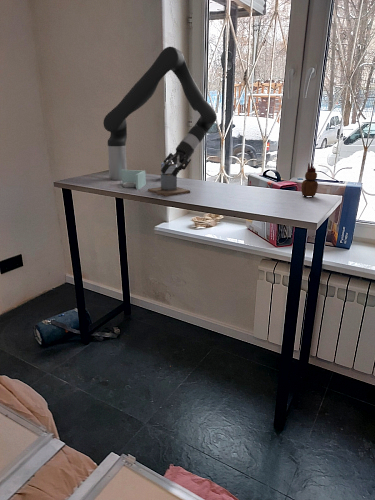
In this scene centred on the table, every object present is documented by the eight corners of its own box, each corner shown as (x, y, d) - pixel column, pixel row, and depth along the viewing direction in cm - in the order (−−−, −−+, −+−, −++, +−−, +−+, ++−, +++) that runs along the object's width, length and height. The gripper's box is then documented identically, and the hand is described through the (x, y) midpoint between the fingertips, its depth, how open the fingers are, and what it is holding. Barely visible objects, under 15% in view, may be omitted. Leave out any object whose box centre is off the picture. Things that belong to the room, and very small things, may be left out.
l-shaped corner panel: (123, 184, 188) (122, 169, 185) (145, 185, 186) (145, 170, 183) (114, 189, 177) (113, 173, 174) (138, 190, 175) (137, 174, 172)
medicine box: (176, 178, 203) (176, 162, 199) (175, 180, 198) (175, 163, 195) (162, 178, 203) (162, 162, 200) (161, 179, 199) (160, 163, 196)
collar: (161, 189, 171) (160, 174, 168) (170, 188, 174) (170, 173, 171) (167, 191, 167) (167, 175, 165) (176, 190, 170) (176, 174, 168)
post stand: (147, 191, 172) (147, 173, 169) (172, 187, 180) (172, 170, 177) (165, 196, 162) (165, 178, 159) (190, 192, 170) (190, 174, 167)
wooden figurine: (301, 197, 163) (305, 163, 158) (299, 195, 169) (303, 161, 163) (317, 198, 162) (322, 163, 157) (314, 195, 168) (319, 162, 162)
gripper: (173, 139, 173) (153, 166, 170) (193, 141, 162) (172, 170, 160) (182, 150, 178) (163, 176, 175) (202, 153, 167) (181, 181, 165)
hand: (167, 173), depth 167 cm, fingers open, 8 cm apart
